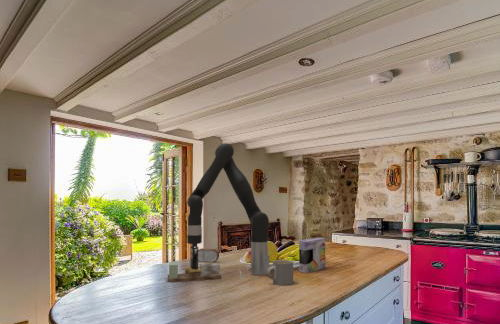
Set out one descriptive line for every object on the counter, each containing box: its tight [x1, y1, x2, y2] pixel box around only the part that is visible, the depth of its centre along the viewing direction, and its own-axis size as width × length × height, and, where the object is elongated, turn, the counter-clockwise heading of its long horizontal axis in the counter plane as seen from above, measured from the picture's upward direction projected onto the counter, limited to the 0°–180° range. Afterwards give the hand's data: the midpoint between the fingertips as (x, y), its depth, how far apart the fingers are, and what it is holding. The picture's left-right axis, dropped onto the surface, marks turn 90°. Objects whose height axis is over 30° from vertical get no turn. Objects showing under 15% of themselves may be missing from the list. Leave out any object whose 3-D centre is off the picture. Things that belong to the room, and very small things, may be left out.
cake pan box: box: [298, 236, 326, 274], centre depth 194 cm, size 19×5×18 cm, turn 129°
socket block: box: [168, 261, 179, 279], centre depth 173 cm, size 4×8×6 cm, turn 14°
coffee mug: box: [266, 259, 294, 286], centre depth 167 cm, size 13×10×10 cm
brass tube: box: [184, 257, 201, 274], centre depth 177 cm, size 17×4×8 cm, turn 104°
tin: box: [198, 247, 220, 263], centre depth 219 cm, size 15×3×8 cm, turn 84°
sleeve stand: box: [167, 262, 222, 283], centre depth 176 cm, size 26×10×6 cm, turn 104°
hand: (194, 267), depth 176 cm, fingers closed on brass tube, 3 cm apart
